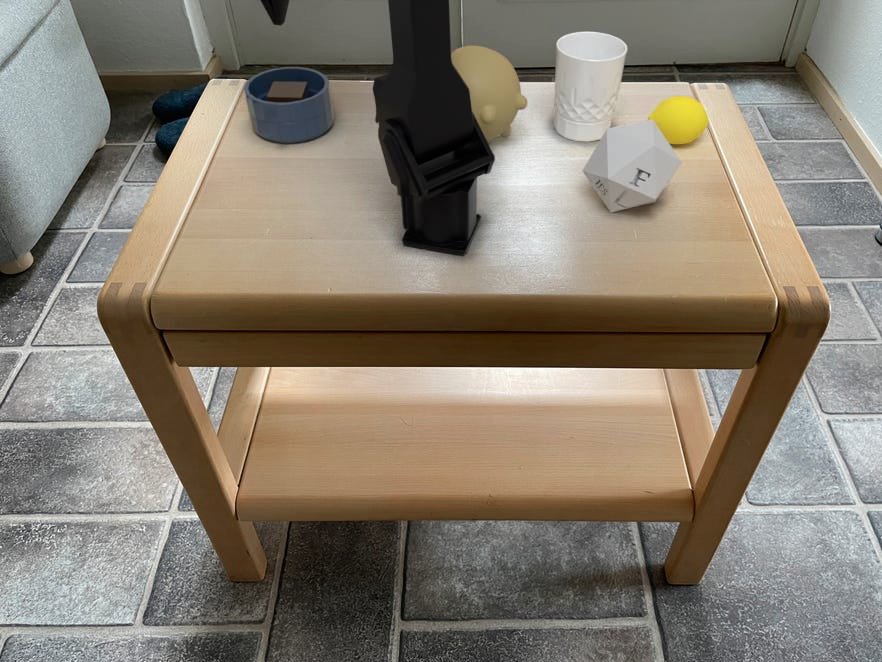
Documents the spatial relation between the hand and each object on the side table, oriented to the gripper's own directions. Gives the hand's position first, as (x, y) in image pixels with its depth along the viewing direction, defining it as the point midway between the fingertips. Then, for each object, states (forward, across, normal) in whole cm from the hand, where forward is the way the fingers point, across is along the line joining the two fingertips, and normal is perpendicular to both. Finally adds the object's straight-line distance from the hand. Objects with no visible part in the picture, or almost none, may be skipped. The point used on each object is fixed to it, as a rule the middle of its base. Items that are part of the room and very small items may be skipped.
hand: (279, 24), depth 81 cm
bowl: (+12, 0, 0) cm, 12 cm away
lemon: (+12, +44, +9) cm, 47 cm away
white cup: (+12, +33, +9) cm, 36 cm away
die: (+12, +40, -5) cm, 42 cm away
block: (+11, 0, 0) cm, 11 cm away
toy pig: (+12, +21, +3) cm, 25 cm away
